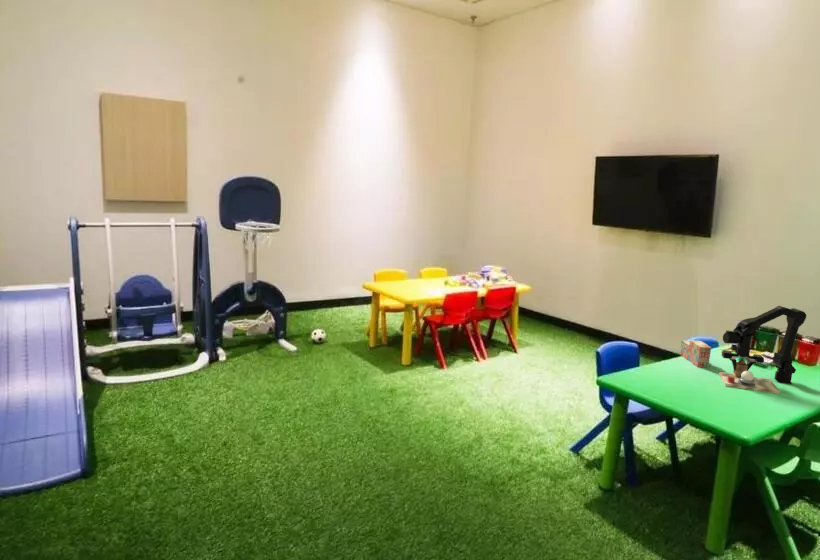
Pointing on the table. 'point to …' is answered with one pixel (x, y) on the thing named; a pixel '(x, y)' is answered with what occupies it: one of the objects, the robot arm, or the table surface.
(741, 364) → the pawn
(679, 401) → the table surface
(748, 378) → the dome
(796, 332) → the robot arm
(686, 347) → the stack of blocks
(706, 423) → the table surface
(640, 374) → the table surface
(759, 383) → the game board
